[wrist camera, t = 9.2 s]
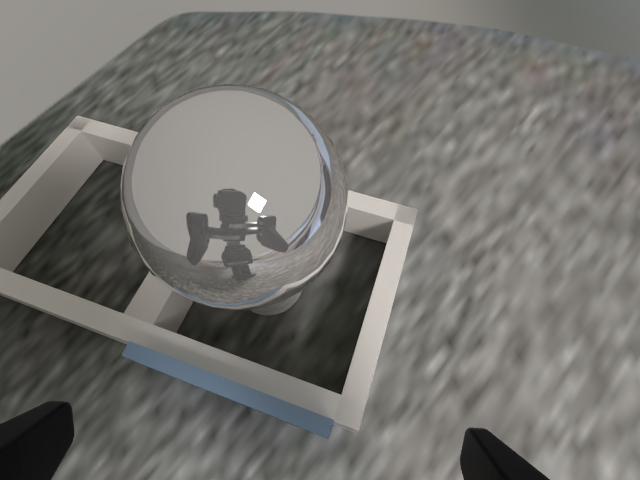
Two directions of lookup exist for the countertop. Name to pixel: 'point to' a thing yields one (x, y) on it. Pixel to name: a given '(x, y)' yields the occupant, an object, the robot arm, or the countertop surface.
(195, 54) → the countertop surface
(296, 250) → the light bulb
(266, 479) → the countertop surface
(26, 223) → the white tray
